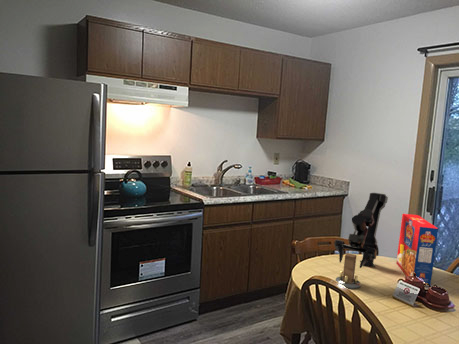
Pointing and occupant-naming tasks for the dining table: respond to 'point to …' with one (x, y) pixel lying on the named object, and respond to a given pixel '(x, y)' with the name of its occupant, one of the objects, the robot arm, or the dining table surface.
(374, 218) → the robot arm
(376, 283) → the dining table surface
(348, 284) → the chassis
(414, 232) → the pasta box
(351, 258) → the walnut block
